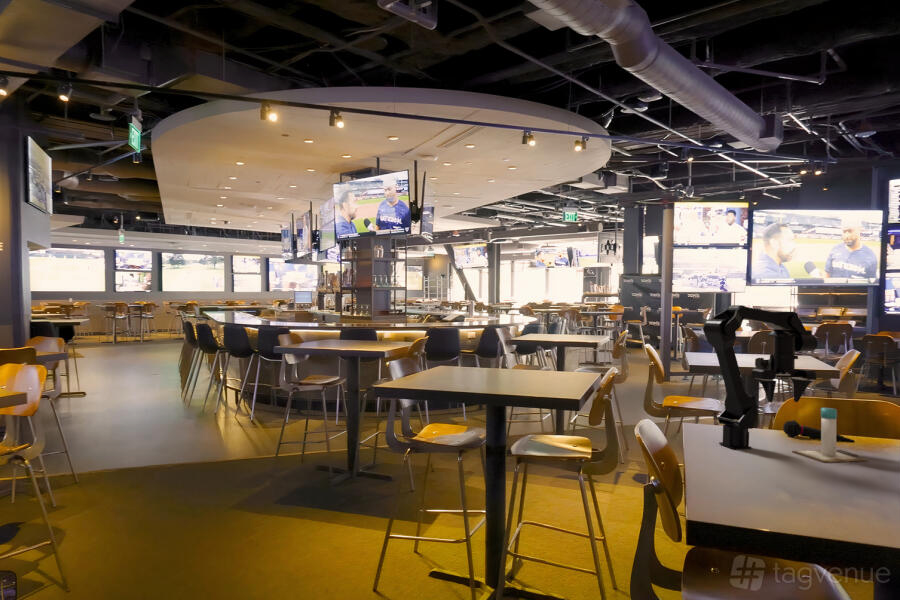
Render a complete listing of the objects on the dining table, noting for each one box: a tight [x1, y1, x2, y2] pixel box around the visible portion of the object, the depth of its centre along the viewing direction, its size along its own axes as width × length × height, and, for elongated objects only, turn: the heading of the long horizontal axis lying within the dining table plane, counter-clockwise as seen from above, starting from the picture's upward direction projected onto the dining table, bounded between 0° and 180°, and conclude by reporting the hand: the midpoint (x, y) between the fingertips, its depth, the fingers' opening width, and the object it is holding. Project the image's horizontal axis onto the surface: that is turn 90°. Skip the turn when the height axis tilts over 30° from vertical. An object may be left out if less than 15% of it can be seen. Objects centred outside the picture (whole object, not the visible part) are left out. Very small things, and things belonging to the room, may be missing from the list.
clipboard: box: [791, 449, 868, 464], centre depth 162 cm, size 14×11×1 cm
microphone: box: [782, 419, 856, 443], centre depth 185 cm, size 6×6×20 cm
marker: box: [820, 407, 838, 456], centre depth 162 cm, size 4×4×13 cm
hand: (783, 402), depth 176 cm, fingers open, 9 cm apart
